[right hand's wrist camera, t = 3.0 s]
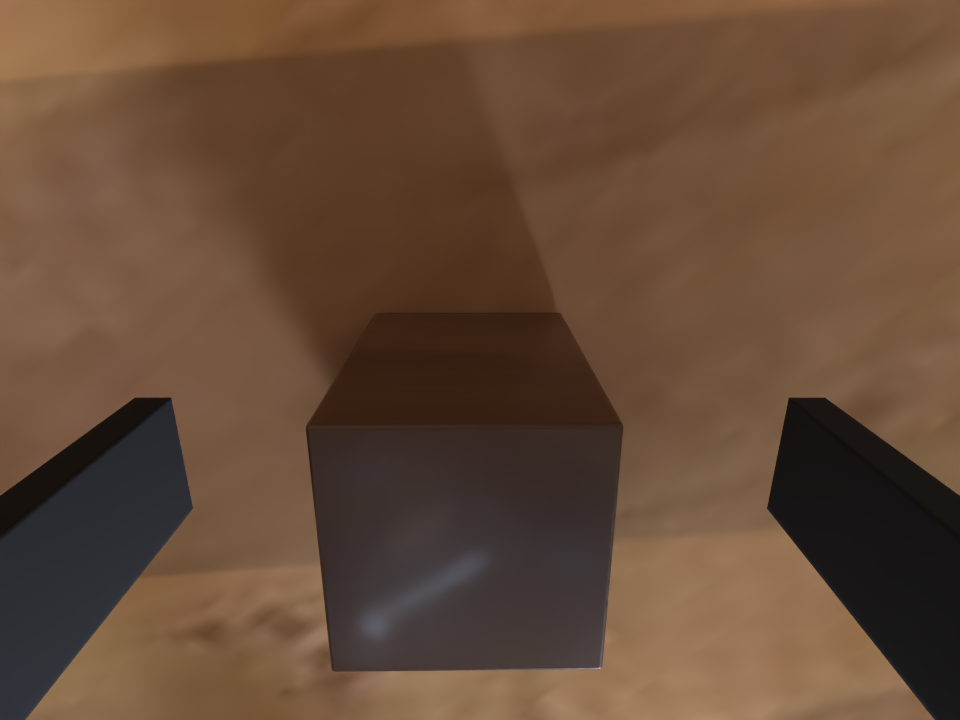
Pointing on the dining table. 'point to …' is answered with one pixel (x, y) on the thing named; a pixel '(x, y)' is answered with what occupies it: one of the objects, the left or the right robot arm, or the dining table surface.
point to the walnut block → (465, 496)
